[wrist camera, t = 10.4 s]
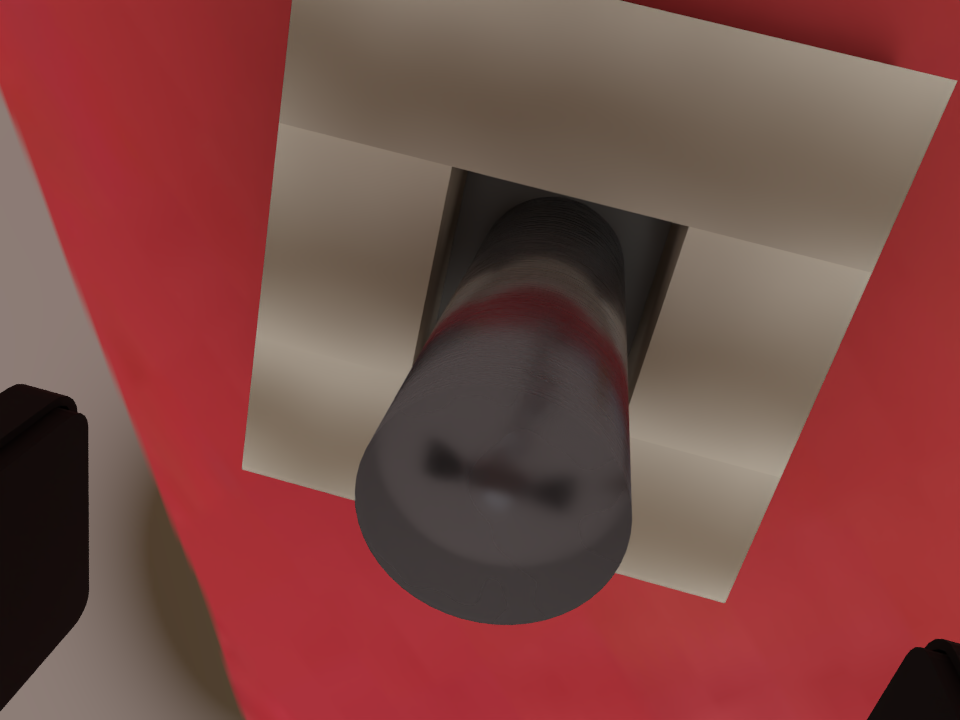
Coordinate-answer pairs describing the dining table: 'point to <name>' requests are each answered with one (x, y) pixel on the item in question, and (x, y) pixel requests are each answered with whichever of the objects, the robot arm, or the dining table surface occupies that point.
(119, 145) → the dining table surface
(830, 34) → the dining table surface
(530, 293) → the steel peg
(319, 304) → the socket block
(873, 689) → the dining table surface
